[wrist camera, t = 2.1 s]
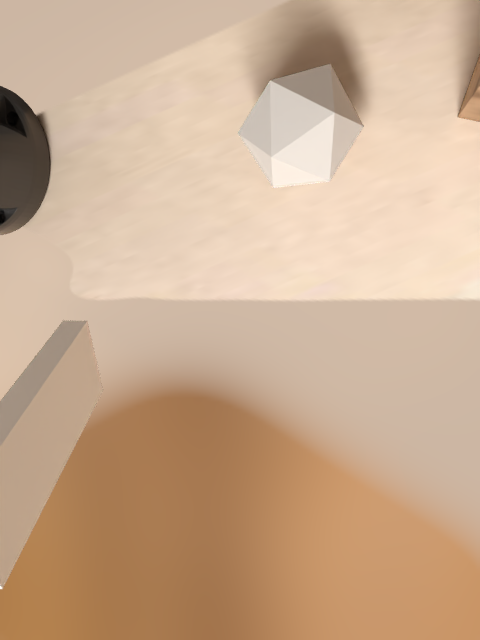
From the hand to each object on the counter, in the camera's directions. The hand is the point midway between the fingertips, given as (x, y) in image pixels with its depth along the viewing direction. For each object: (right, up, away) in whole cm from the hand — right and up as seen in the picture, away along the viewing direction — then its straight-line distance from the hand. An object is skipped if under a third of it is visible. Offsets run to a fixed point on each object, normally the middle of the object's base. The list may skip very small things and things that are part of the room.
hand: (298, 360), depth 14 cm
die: (+4, +17, +25) cm, 30 cm away
